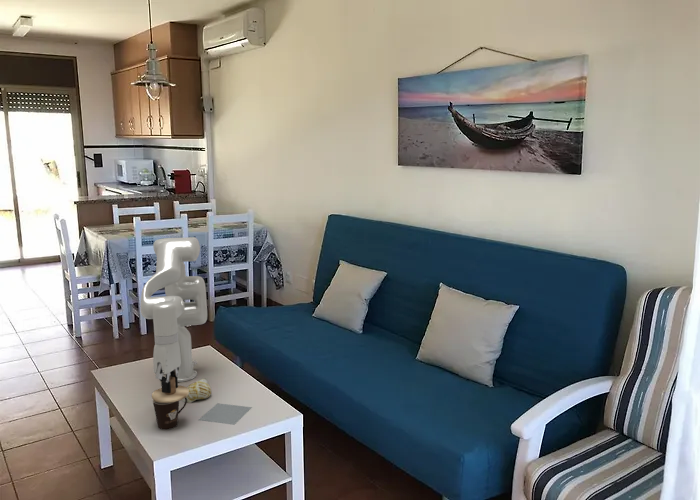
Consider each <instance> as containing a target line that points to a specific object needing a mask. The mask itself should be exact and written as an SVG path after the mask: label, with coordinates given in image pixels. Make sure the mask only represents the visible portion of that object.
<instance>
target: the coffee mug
mask: <svg viewBox="0 0 700 500" xmlns="http://www.w3.org/2000/svg"><path fill="white" fill-rule="evenodd" d="M152 404H153V408H154V414H155V418H156V422H157V423H156V424H157V427H158V429H159V430H164V431H165V430H172V429H174V428H176V427H177V426H178V424H179V415H180V413H181V412H182V411H183V410H184V409H185V408H186V406H187V404H188V403H187V398H185V402H184V403H183V406H182V407H181V408H180V407H179V406H180V405H179V404H180V400H179V401H176V402H170V403H160V402H156V401H154V400H153V399H152Z"/></svg>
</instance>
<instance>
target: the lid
mask: <svg viewBox="0 0 700 500" xmlns="http://www.w3.org/2000/svg"><path fill="white" fill-rule="evenodd" d="M169 381H170V384H171V393H163V392H162V387H160V388H157V389H156V390H154V391H153V392H152V393H151V399H152V401H153V400H154V401H156V402H160V403H170V402H176V401H179V402H180V401H182V399H184V398H186V397H187V396H188V394H189V390H188V388H187V387H188V386H184V385H179V384H178V388H176V385H175V377H169Z"/></svg>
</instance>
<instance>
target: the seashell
mask: <svg viewBox="0 0 700 500" xmlns="http://www.w3.org/2000/svg"><path fill="white" fill-rule="evenodd" d="M186 387H187V388H188V390H189V394H188V396H187V397H186V398H187V403H186V404H191V403H193V402H195V401H196V400H206V399H208V398H210V396H211V394H212V387H211V386H210V384H209V381H208V380H207V379H206V378H201V379H198V380H197V381H194V382H192V383H191V384H189V385H188V386H186ZM181 402H182V403H185V398H184V399H182V400H181Z"/></svg>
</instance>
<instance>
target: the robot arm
mask: <svg viewBox="0 0 700 500" xmlns="http://www.w3.org/2000/svg"><path fill="white" fill-rule="evenodd" d="M152 245H153V252H154V254H155V255H156V265H155V266H156V267H155V268H156V269H155V273H154V274H153V275H152V276H151V277H150V278H149V279H148V280H147V281H146V283H144V285H143V287H142V291H141V295H140V297H141V298H140V313H141V316H142V318H144V319H147V320H152V322H153V333H154V347H153V355H152V364H153V373H154V375H155V379H156V380H159V382H160V385H161V388H162V392H163V393H171V384H170V381H169V377H175V385H176V388H178V385H179V383H182V382H188V381H191V380H193V379H195V378H196V377H197V376H198V372H197V370H196V369H194V367H195V366H197V365H198V361H197V360H196V359H195V360H193V351H192V335H191V332H190V331H189V330H188V328H187V327H188V326H197V325H203V324H205V323H206V322H207V320H208V306H207V305H208V304H207V301H208V300H207V291H206V283H205V280H204V278H203V277H202V276H199V275H191V276H188V275H187V274H186V264H185V263H186V262H196V261H197V259H198V258H199V255H200V251H201V246H200V245H201V244H200V242H199V240H198V238H197V237H194V236H192V237H189V236H188V237H187V236H185V237H167V238H166V237H165V238H159V239H156V240H155V241H154V242H153V244H152ZM161 289H164V292H165V296H153V295H154V294H155V293H156V292H157V291H159V290H161ZM188 300H189V301H188ZM190 300H191V301H190ZM192 300H193V301H192ZM185 301H187V302H185Z"/></svg>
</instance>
